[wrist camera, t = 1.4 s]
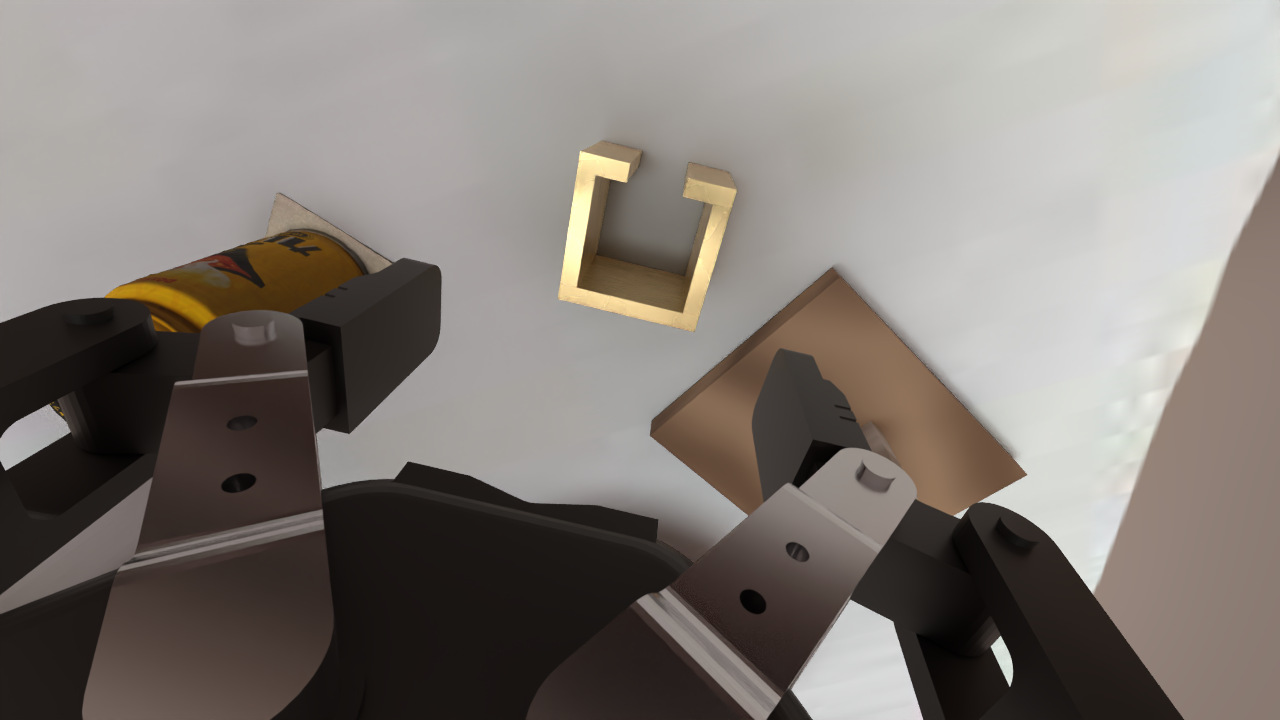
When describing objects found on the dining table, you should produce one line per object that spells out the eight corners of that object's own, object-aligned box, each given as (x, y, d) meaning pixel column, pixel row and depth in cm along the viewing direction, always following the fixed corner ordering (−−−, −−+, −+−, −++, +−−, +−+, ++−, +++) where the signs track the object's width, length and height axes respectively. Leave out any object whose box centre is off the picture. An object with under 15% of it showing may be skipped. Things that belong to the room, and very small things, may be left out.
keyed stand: (825, 563, 34) (852, 658, 28) (651, 420, 30) (641, 497, 24) (1012, 457, 29) (1090, 547, 23) (832, 267, 25) (873, 318, 19)
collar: (694, 292, 26) (694, 331, 22) (580, 264, 26) (557, 299, 22) (729, 172, 23) (736, 189, 19) (601, 140, 23) (580, 151, 19)
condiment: (279, 191, 26) (-8, 258, 15) (430, 284, 27) (263, 402, 17) (247, 300, 29) (-9, 418, 18) (384, 378, 31) (220, 527, 20)
